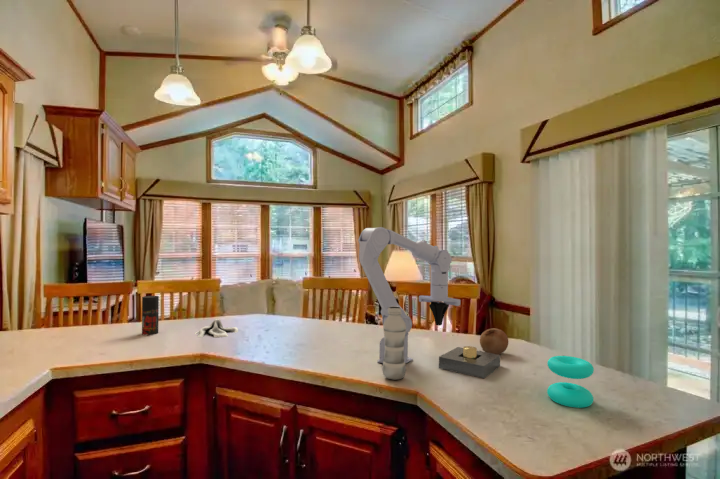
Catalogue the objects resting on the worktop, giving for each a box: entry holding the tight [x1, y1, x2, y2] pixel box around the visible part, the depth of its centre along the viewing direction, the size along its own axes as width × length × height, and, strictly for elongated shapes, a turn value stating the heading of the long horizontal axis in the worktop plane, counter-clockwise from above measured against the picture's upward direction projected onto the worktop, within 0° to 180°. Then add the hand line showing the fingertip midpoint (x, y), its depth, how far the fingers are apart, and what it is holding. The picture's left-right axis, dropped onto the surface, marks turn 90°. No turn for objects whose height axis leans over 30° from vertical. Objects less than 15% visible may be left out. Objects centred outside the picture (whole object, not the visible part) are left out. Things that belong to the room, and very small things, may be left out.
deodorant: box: [141, 295, 160, 336], centre depth 160 cm, size 6×6×15 cm
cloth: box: [194, 318, 239, 338], centre depth 162 cm, size 22×19×6 cm
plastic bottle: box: [381, 306, 407, 380], centre depth 110 cm, size 6×7×20 cm
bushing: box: [462, 345, 478, 360], centre depth 120 cm, size 4×4×6 cm
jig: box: [438, 346, 501, 379], centre depth 120 cm, size 14×14×4 cm
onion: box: [479, 327, 509, 355], centre depth 135 cm, size 10×9×10 cm
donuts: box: [546, 355, 595, 409], centre depth 96 cm, size 10×10×10 cm
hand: (438, 324), depth 132 cm, fingers closed
